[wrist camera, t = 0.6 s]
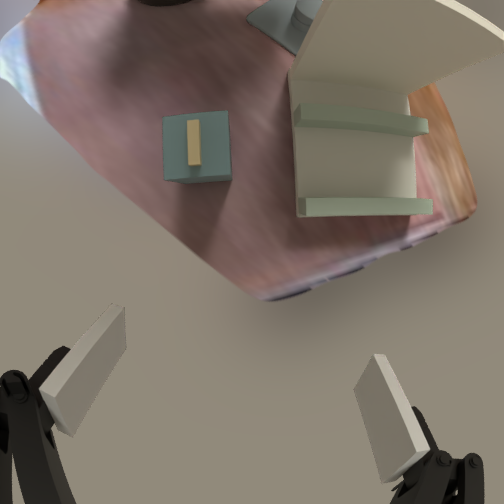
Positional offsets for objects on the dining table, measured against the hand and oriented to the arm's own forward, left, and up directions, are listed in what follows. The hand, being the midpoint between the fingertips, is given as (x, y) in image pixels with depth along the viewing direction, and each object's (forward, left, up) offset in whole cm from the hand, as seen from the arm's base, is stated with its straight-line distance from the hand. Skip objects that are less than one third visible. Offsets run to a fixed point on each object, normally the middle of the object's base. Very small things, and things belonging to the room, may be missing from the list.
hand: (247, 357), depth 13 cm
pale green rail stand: (-15, +17, -24) cm, 33 cm away
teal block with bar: (-13, -3, -24) cm, 27 cm away
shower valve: (-34, +12, -25) cm, 43 cm away
